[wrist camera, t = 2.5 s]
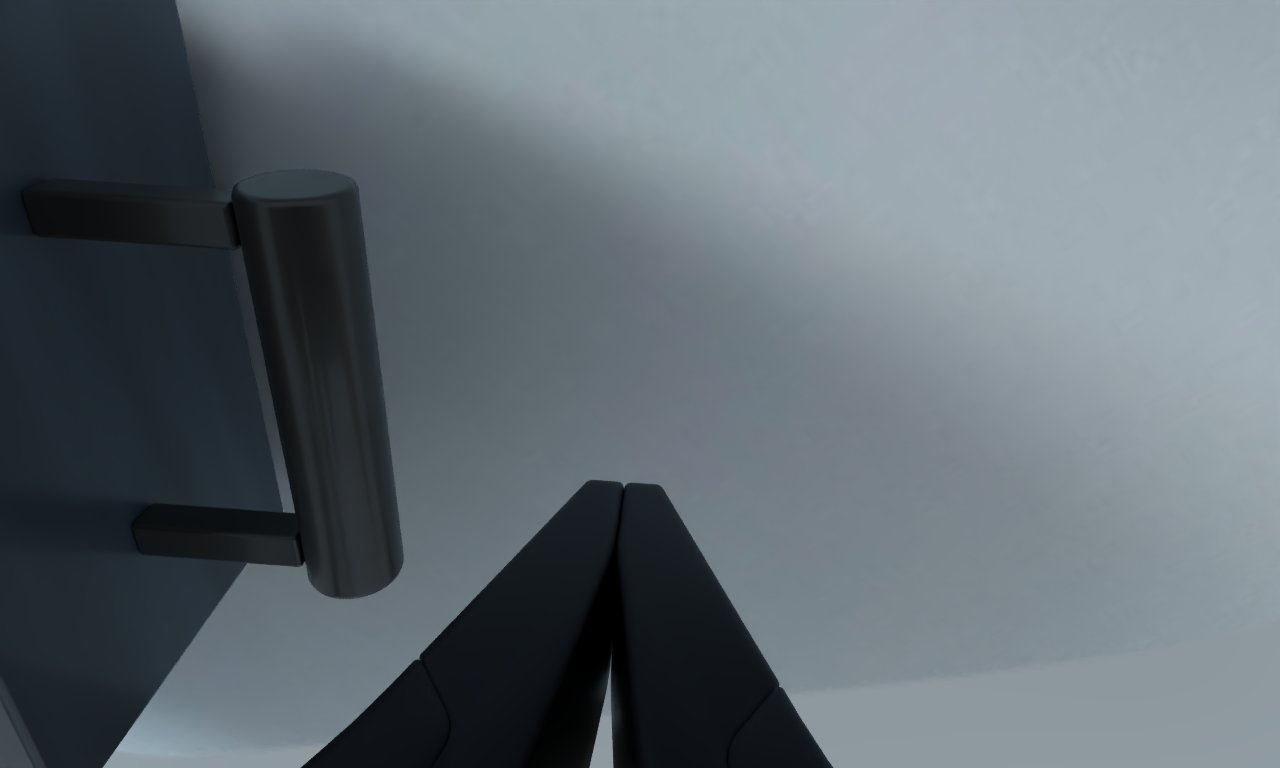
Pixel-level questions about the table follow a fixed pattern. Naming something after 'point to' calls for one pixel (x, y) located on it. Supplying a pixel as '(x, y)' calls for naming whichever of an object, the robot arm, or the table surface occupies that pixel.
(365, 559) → the drawer
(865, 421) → the table surface
